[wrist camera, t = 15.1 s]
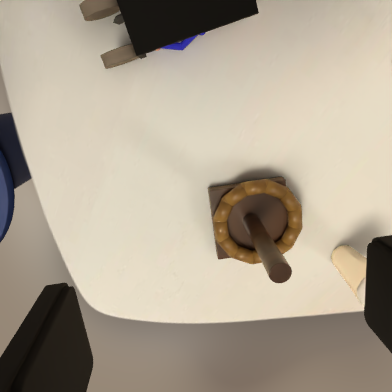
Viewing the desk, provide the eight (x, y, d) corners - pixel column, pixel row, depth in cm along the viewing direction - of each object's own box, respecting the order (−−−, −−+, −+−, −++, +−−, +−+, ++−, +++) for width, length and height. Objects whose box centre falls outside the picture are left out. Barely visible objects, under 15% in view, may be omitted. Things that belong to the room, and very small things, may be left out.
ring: (219, 264, 42) (220, 271, 40) (207, 185, 39) (209, 189, 37) (301, 251, 42) (305, 258, 40) (296, 171, 39) (301, 175, 37)
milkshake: (331, 280, 45) (373, 331, 36) (322, 247, 44) (363, 291, 34) (364, 269, 45) (414, 317, 35) (356, 235, 43) (406, 276, 34)
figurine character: (121, 76, 37) (252, 25, 35) (99, 76, 30) (262, 12, 28) (96, 11, 35) (233, -47, 33) (66, -5, 28) (239, -81, 26)
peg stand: (216, 254, 43) (234, 324, 30) (207, 187, 40) (222, 233, 27) (286, 243, 43) (332, 309, 30) (281, 176, 40) (331, 217, 28)
